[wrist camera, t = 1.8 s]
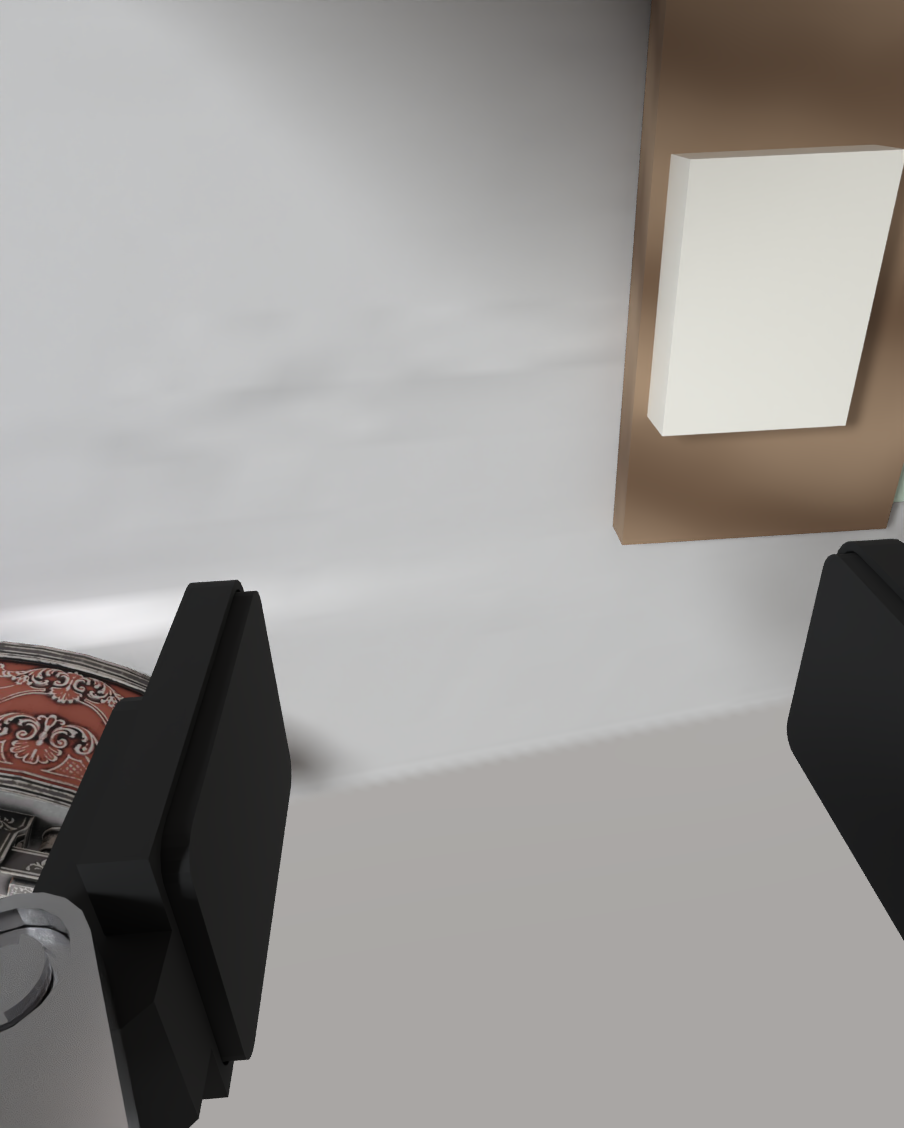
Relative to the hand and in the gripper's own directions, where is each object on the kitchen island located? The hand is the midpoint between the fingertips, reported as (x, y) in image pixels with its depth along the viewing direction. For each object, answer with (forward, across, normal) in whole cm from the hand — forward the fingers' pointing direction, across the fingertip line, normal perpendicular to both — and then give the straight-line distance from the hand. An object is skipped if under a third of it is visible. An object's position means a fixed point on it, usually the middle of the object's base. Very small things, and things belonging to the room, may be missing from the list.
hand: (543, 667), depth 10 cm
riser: (+20, -11, 0) cm, 23 cm away
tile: (+17, -10, 0) cm, 20 cm away
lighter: (+20, +16, +15) cm, 30 cm away
